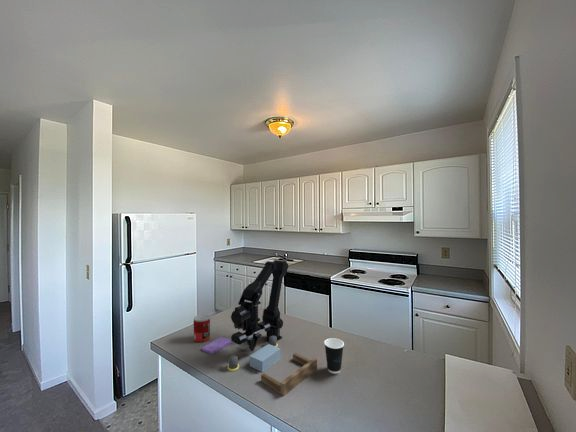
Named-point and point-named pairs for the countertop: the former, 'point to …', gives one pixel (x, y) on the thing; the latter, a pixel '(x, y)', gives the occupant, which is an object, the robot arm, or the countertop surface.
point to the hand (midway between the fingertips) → (251, 351)
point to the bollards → (234, 359)
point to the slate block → (265, 357)
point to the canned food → (201, 328)
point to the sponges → (216, 345)
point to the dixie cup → (334, 354)
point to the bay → (295, 377)
